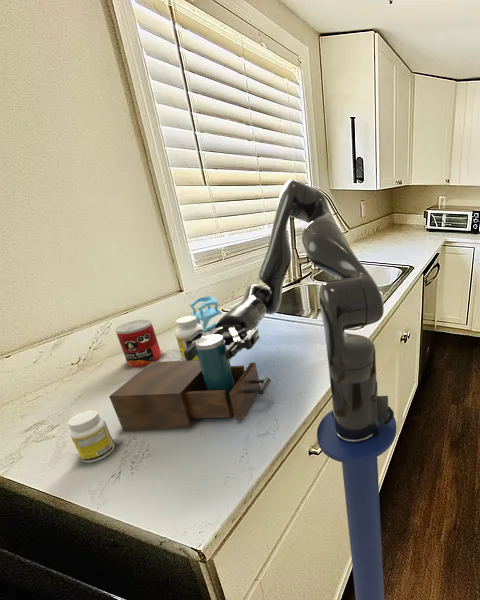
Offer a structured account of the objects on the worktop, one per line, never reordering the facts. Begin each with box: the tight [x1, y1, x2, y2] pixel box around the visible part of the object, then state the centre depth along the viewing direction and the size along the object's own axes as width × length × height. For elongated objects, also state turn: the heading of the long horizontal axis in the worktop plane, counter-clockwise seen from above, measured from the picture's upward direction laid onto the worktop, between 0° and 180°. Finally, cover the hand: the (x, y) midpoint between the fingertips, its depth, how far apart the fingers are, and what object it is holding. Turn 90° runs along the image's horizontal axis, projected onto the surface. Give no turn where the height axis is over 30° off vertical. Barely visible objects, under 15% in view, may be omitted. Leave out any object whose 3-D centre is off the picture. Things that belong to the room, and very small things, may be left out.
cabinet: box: [108, 360, 202, 432], centre depth 71 cm, size 14×13×9 cm
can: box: [195, 334, 235, 404], centre depth 70 cm, size 5×5×15 cm
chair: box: [189, 295, 222, 333], centre depth 107 cm, size 8×8×12 cm
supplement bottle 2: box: [174, 315, 206, 361], centre depth 90 cm, size 7×7×13 cm
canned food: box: [115, 319, 162, 368], centre depth 90 cm, size 8×8×11 cm
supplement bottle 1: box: [67, 409, 116, 463], centre depth 60 cm, size 5×5×8 cm
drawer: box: [183, 362, 272, 421], centre depth 72 cm, size 17×11×7 cm
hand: (207, 356), depth 66 cm, fingers open, 7 cm apart
